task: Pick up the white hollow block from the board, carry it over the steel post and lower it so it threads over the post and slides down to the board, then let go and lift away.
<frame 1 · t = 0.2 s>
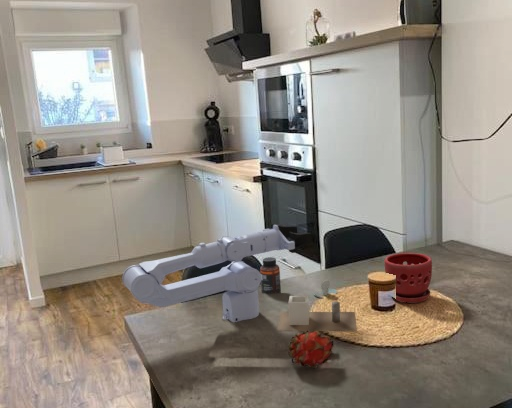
hand: (303, 233, 150), 21 cm above the table, tool horizontal, fingers open, 7 cm apart
plant pot: (407, 298, 155), on the table
supplement bottle: (271, 294, 163), on the table
post board: (316, 326, 138), on the table
white hollow block: (299, 320, 139), point 1 cm above the table, touching post board
pacifier: (323, 299, 158), on the table
dragon fruit: (311, 363, 120), on the table
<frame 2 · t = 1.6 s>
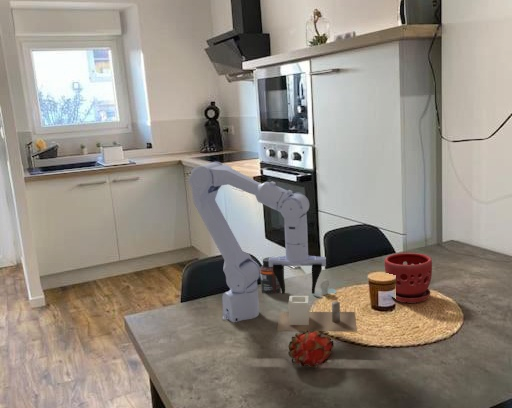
hand: (298, 292, 137), 9 cm above the table, tool pointing down, fingers open, 7 cm apart
nothing on the table moved.
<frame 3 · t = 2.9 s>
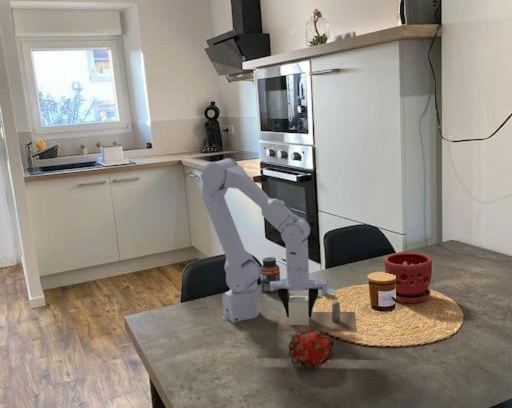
hand: (299, 315, 139), 3 cm above the table, tool pointing down, fingers closed on white hollow block, 5 cm apart
white hollow block: (299, 320, 139), point 1 cm above the table, touching gripper, post board
everything else where it was.
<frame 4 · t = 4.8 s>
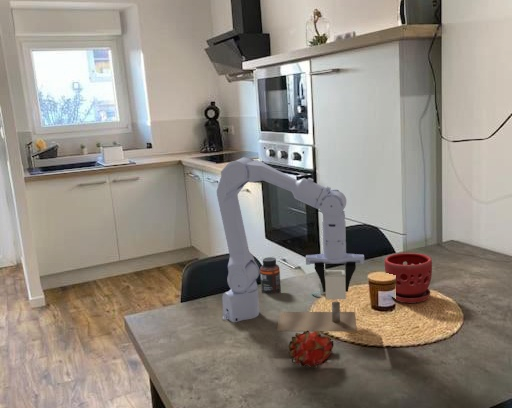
hand: (335, 290, 136), 10 cm above the table, tool pointing down, fingers closed on white hollow block, 5 cm apart
white hollow block: (335, 295, 136), point 9 cm above the table, touching gripper
everything else where it was.
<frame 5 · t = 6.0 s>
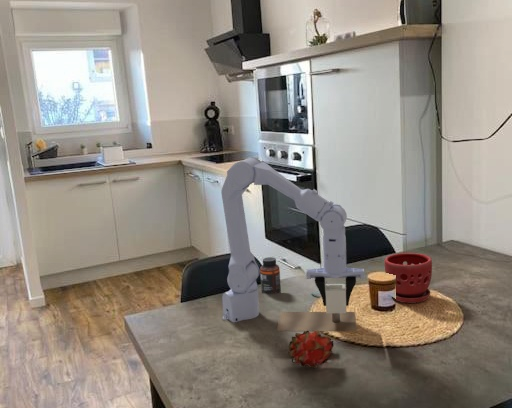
hand: (335, 304, 137), 6 cm above the table, tool pointing down, fingers closed on white hollow block, 5 cm apart
white hollow block: (336, 309, 137), point 5 cm above the table, touching gripper
when the fingers open (5 cm above the table, at t = 6.8 s): white hollow block drops 2 cm, resting on post board.
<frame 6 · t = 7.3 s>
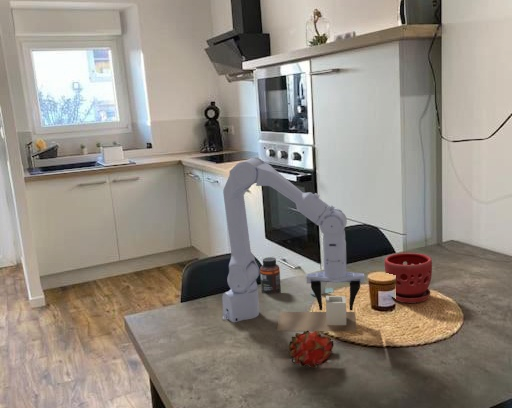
hand: (335, 308, 137), 5 cm above the table, tool pointing down, fingers open, 7 cm apart
white hollow block: (336, 321, 137), point 1 cm above the table, touching post board
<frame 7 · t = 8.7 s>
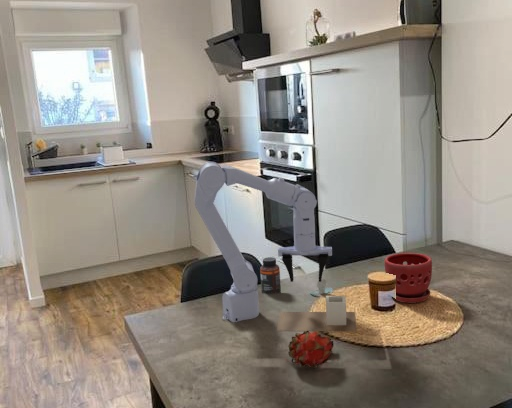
hand: (306, 280, 146), 9 cm above the table, tool pointing down, fingers open, 7 cm apart
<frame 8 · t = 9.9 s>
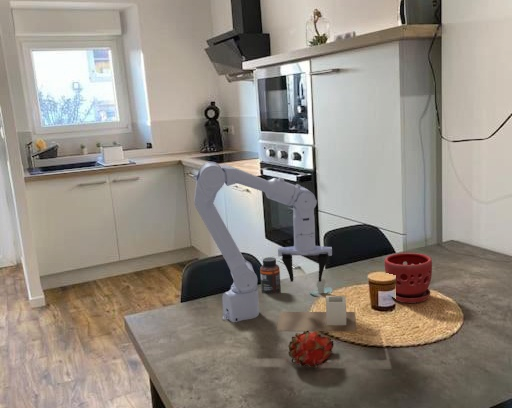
hand: (305, 280, 146), 9 cm above the table, tool pointing down, fingers open, 7 cm apart
at the end: white hollow block 0.1 cm from the target spot, point 1.5 cm above the table; white hollow block tilted 0°; the gripper is holding nothing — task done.
